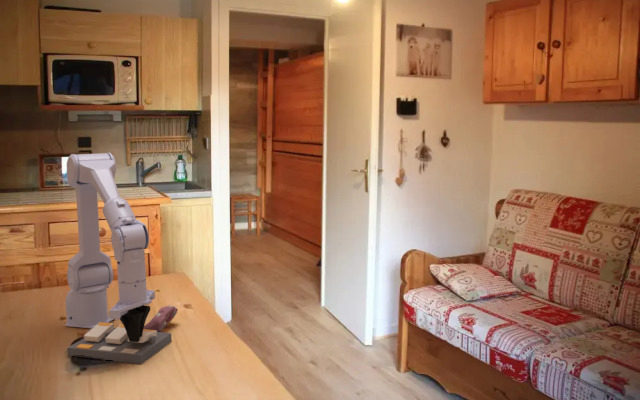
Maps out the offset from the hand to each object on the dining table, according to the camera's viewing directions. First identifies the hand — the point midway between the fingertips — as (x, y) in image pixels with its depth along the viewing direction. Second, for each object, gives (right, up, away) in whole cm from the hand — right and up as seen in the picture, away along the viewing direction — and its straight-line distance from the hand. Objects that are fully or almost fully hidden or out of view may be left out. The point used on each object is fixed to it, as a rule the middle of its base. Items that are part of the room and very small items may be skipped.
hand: (135, 340), depth 125 cm
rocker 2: (-5, 0, +4) cm, 6 cm away
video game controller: (+1, -2, +16) cm, 16 cm away
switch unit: (-5, -3, +5) cm, 7 cm away
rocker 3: (+1, 0, +3) cm, 3 cm away
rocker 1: (-10, +1, +5) cm, 11 cm away
